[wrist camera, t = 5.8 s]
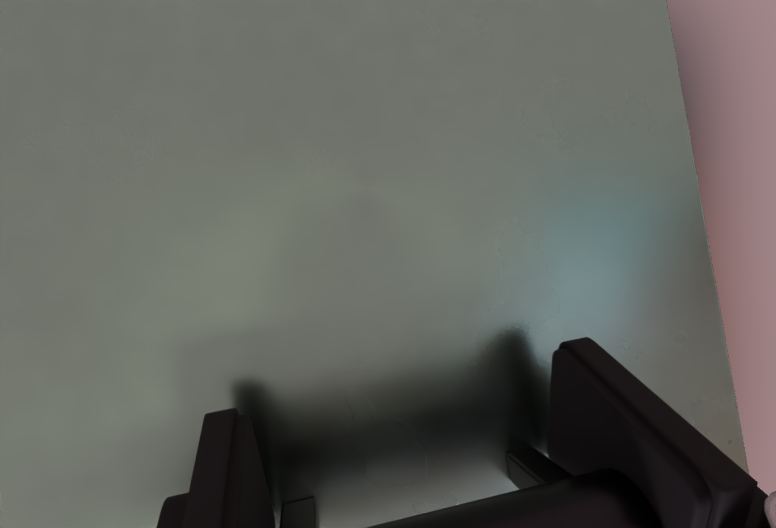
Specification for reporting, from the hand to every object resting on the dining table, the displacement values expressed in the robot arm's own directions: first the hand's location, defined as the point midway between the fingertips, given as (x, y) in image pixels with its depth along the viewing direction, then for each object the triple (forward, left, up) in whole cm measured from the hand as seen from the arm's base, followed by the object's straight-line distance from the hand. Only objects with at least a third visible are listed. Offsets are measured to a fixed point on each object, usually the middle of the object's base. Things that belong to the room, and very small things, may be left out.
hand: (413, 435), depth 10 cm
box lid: (-3, -3, -4) cm, 5 cm away
